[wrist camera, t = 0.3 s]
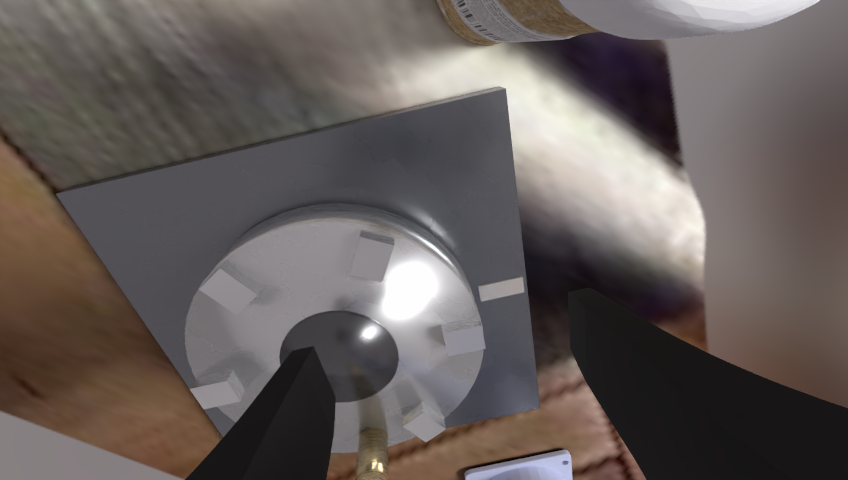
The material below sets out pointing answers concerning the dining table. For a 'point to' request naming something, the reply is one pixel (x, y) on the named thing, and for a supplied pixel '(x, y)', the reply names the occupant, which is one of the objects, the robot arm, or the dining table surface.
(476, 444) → the dining table surface
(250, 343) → the tabbed hub disc
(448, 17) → the sprinkles bottle
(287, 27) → the dining table surface
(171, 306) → the base plate
